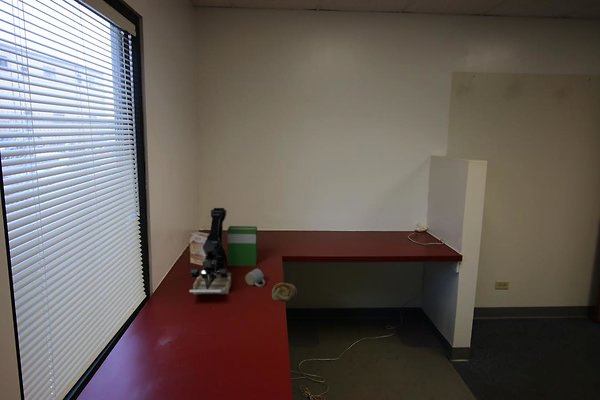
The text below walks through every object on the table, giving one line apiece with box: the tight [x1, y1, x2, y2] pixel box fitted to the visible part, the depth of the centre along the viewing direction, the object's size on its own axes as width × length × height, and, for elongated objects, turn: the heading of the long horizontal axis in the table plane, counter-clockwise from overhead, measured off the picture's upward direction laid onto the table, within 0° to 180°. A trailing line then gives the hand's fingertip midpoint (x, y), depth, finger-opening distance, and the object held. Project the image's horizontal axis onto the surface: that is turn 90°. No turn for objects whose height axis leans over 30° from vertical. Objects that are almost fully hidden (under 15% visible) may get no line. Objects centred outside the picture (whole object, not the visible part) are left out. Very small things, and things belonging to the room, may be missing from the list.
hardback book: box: [227, 225, 258, 267], centre depth 234 cm, size 18×7×24 cm, turn 91°
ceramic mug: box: [244, 268, 266, 288], centre depth 205 cm, size 11×8×8 cm
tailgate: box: [189, 289, 225, 295], centre depth 183 cm, size 2×15×13 cm
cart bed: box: [192, 272, 232, 295], centre depth 198 cm, size 13×18×6 cm
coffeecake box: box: [189, 231, 210, 267], centre depth 233 cm, size 15×7×20 cm, turn 62°
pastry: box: [271, 282, 298, 302], centre depth 191 cm, size 14×12×8 cm
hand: (207, 288), depth 183 cm, fingers closed
